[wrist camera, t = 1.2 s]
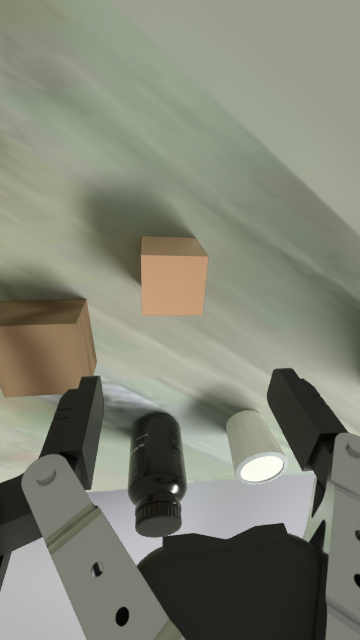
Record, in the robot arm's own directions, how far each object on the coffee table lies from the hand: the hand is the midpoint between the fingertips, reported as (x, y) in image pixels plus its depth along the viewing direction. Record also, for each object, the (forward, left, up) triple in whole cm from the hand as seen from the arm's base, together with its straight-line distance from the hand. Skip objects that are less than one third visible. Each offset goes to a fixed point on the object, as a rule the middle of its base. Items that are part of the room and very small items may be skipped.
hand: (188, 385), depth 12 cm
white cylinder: (-12, +24, -16) cm, 31 cm away
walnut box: (+12, +8, -16) cm, 21 cm away
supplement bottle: (+1, +24, -16) cm, 29 cm away
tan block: (0, 0, -16) cm, 16 cm away
